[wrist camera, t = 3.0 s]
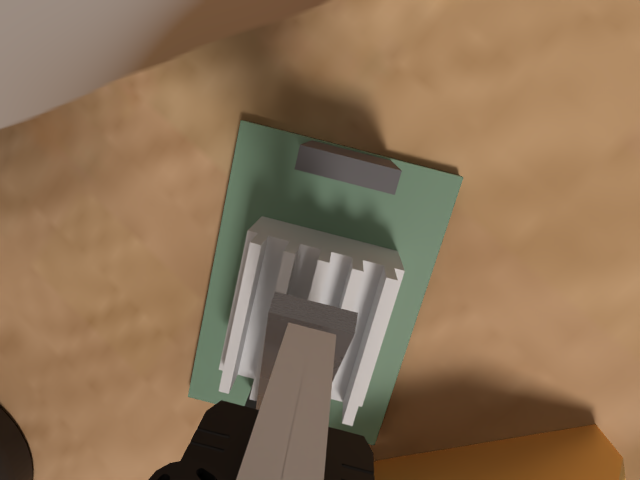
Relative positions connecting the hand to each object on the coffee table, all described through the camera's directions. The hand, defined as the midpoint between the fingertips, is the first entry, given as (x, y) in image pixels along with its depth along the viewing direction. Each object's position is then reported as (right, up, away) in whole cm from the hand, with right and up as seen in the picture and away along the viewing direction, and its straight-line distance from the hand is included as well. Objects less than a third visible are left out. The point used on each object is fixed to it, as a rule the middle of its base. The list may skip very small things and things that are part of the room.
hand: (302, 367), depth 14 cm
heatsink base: (0, 0, +17) cm, 17 cm away
